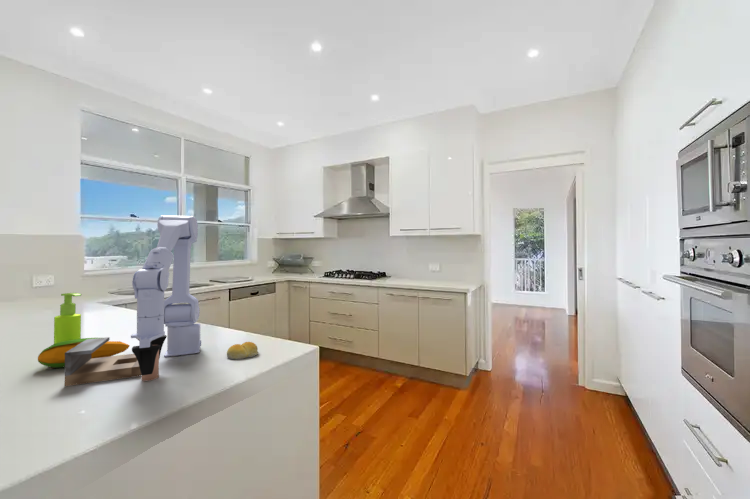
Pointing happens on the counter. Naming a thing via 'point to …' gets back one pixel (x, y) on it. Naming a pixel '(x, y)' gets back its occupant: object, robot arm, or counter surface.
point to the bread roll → (242, 350)
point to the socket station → (97, 364)
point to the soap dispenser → (67, 321)
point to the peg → (155, 371)
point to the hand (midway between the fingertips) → (150, 369)
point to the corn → (56, 352)
